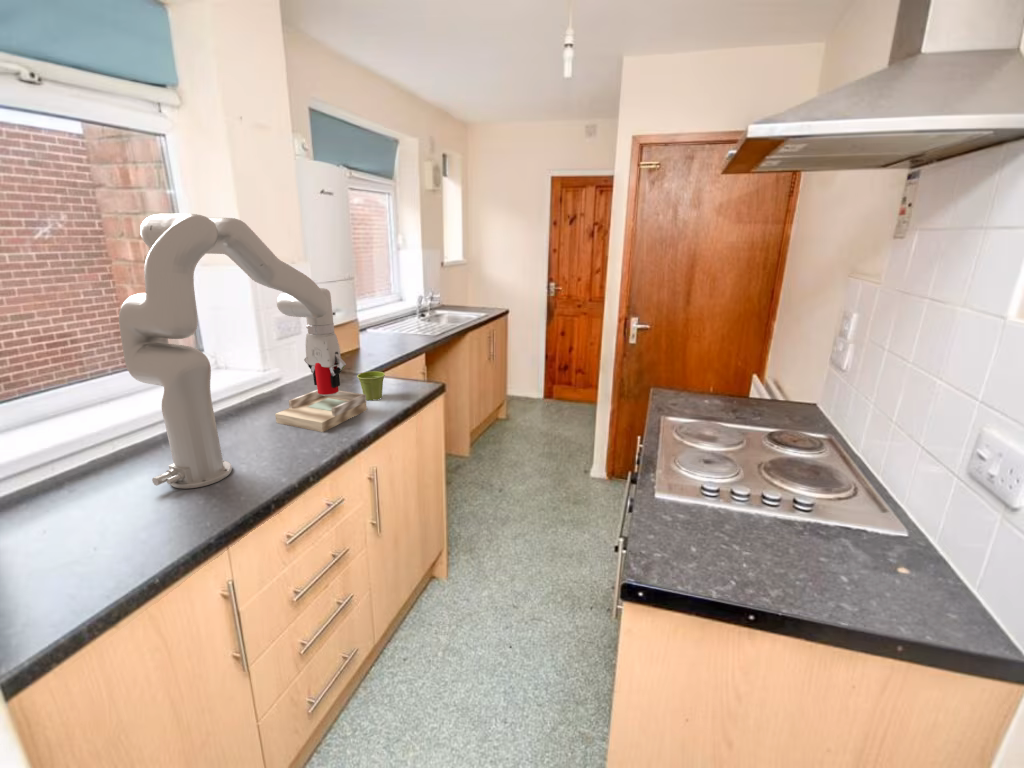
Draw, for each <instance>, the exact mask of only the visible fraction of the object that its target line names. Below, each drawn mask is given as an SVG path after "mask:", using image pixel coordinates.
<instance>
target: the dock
mask: <svg viewBox="0 0 1024 768" xmlns="http://www.w3.org/2000/svg"><path fill="white" fill-rule="evenodd" d="M338 390H339V391H338V392H337V393H336V394H335V395H331V396H322V395H320V394H318V390H317V389H315V390H312V391H310V392H307V393H305V394H302V395H300V396H296V397H294V398H292V399H290V400H288V407H289V408H286V409H283V410H281V411H279V412H276V413H275V414H274V415H275V422H276V424H280V425H285V426H289V427H294V428H295V427H296V428H300V429H303V430H304V429H305V430H308V431H309V430H311V431H314V432H319V433H320V432H321V433H324V432H326V431H329V430H330V429H332V428H334V427H336V426H338V425H340V424H342V423H344V422H346V421H348V419H349V420H350V418H351V419H352V417H353V418H355V417H356V416H358V415H359V416H360V415H361V414H363V413H365V412H367V411H366V410H368V409H367V408H368V406H367V400H366V395H365V394H363V393H357V392H351V391H346V390H340V389H338ZM364 411H365V412H364ZM354 416H355V417H354Z"/></svg>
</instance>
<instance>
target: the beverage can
mask: <svg viewBox="0 0 1024 768" xmlns="http://www.w3.org/2000/svg"><path fill="white" fill-rule="evenodd" d="M334 365H335V363H334ZM333 368H334V370H335V367H333ZM315 374H316V382H317V385H316V388H317V389H316V390H318V394H320V395H322V396H331V395H335V394H336V393H337V392H338V391H339V390H340V389H339V386H338V387H335V388H332V387H331V378H330V376H331V375H332V374H331V371H330V369H329V368H325V367H322V366H321V364H320V363H316V364H315Z"/></svg>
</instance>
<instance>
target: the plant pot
mask: <svg viewBox="0 0 1024 768" xmlns="http://www.w3.org/2000/svg"><path fill="white" fill-rule="evenodd" d="M385 376H386V373H384V372H383V371H377V370H376V371H373V370H372V371H366V372H365V371H364V372H362V373H358V374H357V376H356V378H357V379H358V381H359V382H360V387H361V390H362V394H365V395H366V401H369V400H372V401H374V400H375V401H379V400H380V398H381V399H382V398H383V389H384V388H383V386H384V379H385V378H384V377H385ZM378 399H379V400H378Z"/></svg>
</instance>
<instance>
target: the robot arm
mask: <svg viewBox="0 0 1024 768" xmlns="http://www.w3.org/2000/svg"><path fill="white" fill-rule="evenodd" d="M139 230H140V232H139V233H140V237H141V238H142V240H143V242H144V243H145V245H147V248H149V250H148V253H147V255H146V258H145V262H144V267H143V269H144V270H143V274H144V291H145V292H139V293H136V294H133V295H130V296H129V297H127V298H126V299H125V300H124V301H123V303H122V304H121V306H120V309H119V313H118V325H119V332H120V339H121V345H122V352H123V359H124V362H125V363H124V364H125V367H126V369H127V371H128V373H129V374H130V375H131V377H132V378H134V379H135V380H136V381H138V382H141V383H144V384H148V385H153V386H160V387H163V388H164V389H163V396H162V399H161V413H162V418H163V421H164V426H165V429H166V435H167V440H168V444H169V449H170V453H171V454H170V455H171V457H172V463H171V464H168V468H169V469H168V470H166V471H165V472H164V473H162V474H161V473H160V474H158V475H157V476H154V477H153V478H152V479H151V480H152V483H153V485H154V486H160V485H161V484H164V483H167V485H170V486H171V487H173V488H177V489H194V488H196V489H197V488H203V487H206V486H209V485H212V484H215V483H217V482H220V481H222V480H223V479H225V478H227V477H228V476H229V475H230V474H231V473H232V470H233V467H232V464H231V463H230V462H229V461H227V460H223V454H222V450H221V444H220V438H219V431H218V427H217V423H216V416H215V411H214V407H213V401H212V391H211V378H212V377H211V376H212V368H211V363H210V359H208V357H207V355H206V354H205V353H204V352H203V351H201V350H199V349H198V348H196V347H192V346H189V345H184V344H177V343H176V344H174V343H169V340H182V339H183V340H184V339H187V338H190V337H191V336H193V335H194V334H195V333H196V331H197V329H198V312H197V303H196V295H195V294H196V293H195V279H194V278H195V277H194V275H195V270H196V267H197V265H198V263H199V262H200V260H201V259H202V258H203V257H204V256H205V255H206V254H208V255H209V254H212V255H213V254H215V255H216V254H217V255H226V256H227V257H228V258H229V259H230V260H231V261H233V262H234V263H235V264H236V265H237V266H238V267H239V269H241V270H242V271H243V272H244V273H245V274H246V275H247V276H248V277H249V278H250V280H252V281H254V282H255V283H257V284H259V285H262V286H264V287H267V288H270V289H272V290H276V291H280V292H282V293H279V295H278V296H277V299H276V307H277V309H278V310H279V312H281V314H283V315H285V316H286V317H287V316H288V317H293V318H294V317H295V318H306V329H307V333H306V337H305V357H304V359H303V361H304V362H305V364H306V365H307V367H308V368H309V369H310V372H311V373H312V376H313V377H312V378H313V383H314V386H317V382H316V374H315V364H316V363H320V364H321V366H322V367H325V368H329V369H330V371H331V374H332V375H331V376H330V378H331V387H332V388H335V387H338V388H339V387H340V385H341V381H340V378H341V377H340V374H341V373H342V371H343V370H344V368H345V367H346V366H347V363H346V362H345V361H344V359H342V356H341V350H340V345H339V340H338V337H337V334H336V333H335V324H334V323H335V322H334V316H333V315H334V313H333V306H332V296H331V295H332V294H331V292H330V290H329V289H328V288H325V287H323V288H322V287H319V286H318V284H317V283H316V282H315V281H314V280H312V278H310V277H309V276H307V275H306V274H304V272H301V271H300V270H298V269H296V268H295V267H293V266H292V265H290V264H288V263H286V262H284V261H282V260H281V259H279V257H278V256H276V254H274V252H273V251H272V250H271V249H270V248H269V247H268V246H267V244H265V242H263V240H262V239H261V238H260V237H259V236H258V235H257V233H255V232H254V230H252V228H251V227H249V224H247V223H246V222H244V220H243V221H242V220H241V219H238V218H233V217H207V216H204V215H201V214H197V213H156V214H152V215H149V216H148V217H147V216H146V218H145V219H144V220H143V221H142V223H141V224H140V229H139ZM334 363H335V365H334ZM333 367H335V370H334V368H333Z"/></svg>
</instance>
